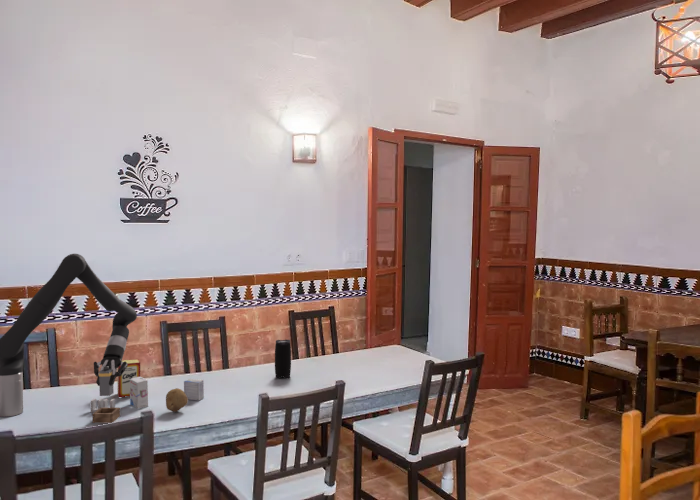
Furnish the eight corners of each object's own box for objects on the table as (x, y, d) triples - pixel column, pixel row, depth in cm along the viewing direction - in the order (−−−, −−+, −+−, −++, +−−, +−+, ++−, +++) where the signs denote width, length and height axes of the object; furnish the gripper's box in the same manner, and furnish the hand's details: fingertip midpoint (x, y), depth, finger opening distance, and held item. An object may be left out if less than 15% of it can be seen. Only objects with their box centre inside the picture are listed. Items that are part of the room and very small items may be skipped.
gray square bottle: (99, 396, 223) (98, 368, 222) (103, 392, 227) (103, 365, 227) (109, 395, 223) (109, 367, 223) (113, 392, 227) (113, 365, 227)
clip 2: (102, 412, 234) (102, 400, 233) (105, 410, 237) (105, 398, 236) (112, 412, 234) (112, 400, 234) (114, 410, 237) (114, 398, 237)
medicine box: (204, 398, 255) (204, 379, 254) (198, 401, 250) (198, 382, 250) (189, 396, 257) (188, 378, 256) (183, 399, 252) (183, 380, 252)
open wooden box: (92, 422, 221) (92, 414, 221) (100, 416, 229) (100, 407, 229) (112, 422, 221) (112, 413, 221) (120, 416, 229) (120, 407, 229)
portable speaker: (290, 374, 297) (290, 338, 297) (291, 379, 288) (291, 342, 287) (274, 375, 296) (274, 339, 295) (275, 379, 287) (275, 342, 286)
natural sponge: (190, 408, 240) (190, 385, 240) (184, 415, 231) (184, 391, 231) (169, 408, 240) (168, 385, 239) (162, 415, 231) (162, 391, 230)
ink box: (129, 404, 245) (129, 378, 244) (140, 401, 248) (140, 376, 248) (137, 408, 239) (137, 382, 238) (148, 406, 242) (148, 379, 242)
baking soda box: (138, 391, 264) (138, 358, 264) (140, 395, 258) (140, 361, 258) (117, 394, 260) (117, 360, 259) (118, 397, 254) (118, 363, 253)
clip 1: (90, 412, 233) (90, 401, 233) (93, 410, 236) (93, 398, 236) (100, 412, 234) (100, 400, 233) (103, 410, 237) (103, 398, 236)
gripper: (95, 343, 231) (83, 380, 220) (130, 343, 232) (119, 380, 220) (101, 353, 237) (89, 389, 225) (134, 353, 237) (124, 389, 226)
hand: (104, 384), depth 223 cm, fingers closed on gray square bottle, 4 cm apart
